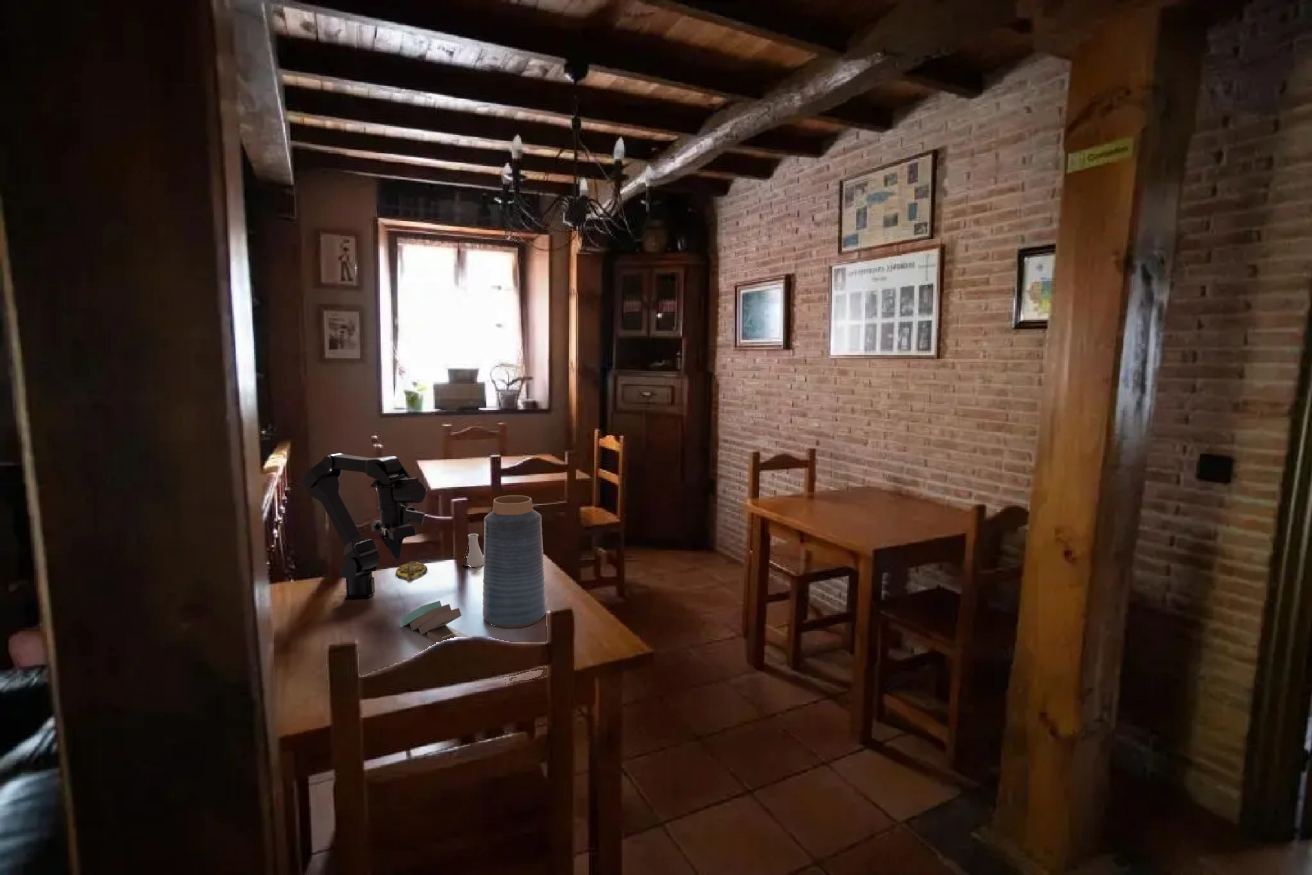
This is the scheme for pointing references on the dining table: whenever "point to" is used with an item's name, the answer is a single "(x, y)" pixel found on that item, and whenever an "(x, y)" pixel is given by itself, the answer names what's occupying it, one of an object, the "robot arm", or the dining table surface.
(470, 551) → the flask
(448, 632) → the domino
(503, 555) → the vase
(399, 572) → the seal
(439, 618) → the domino
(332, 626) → the dining table surface
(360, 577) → the robot arm
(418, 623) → the domino
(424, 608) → the teal domino
